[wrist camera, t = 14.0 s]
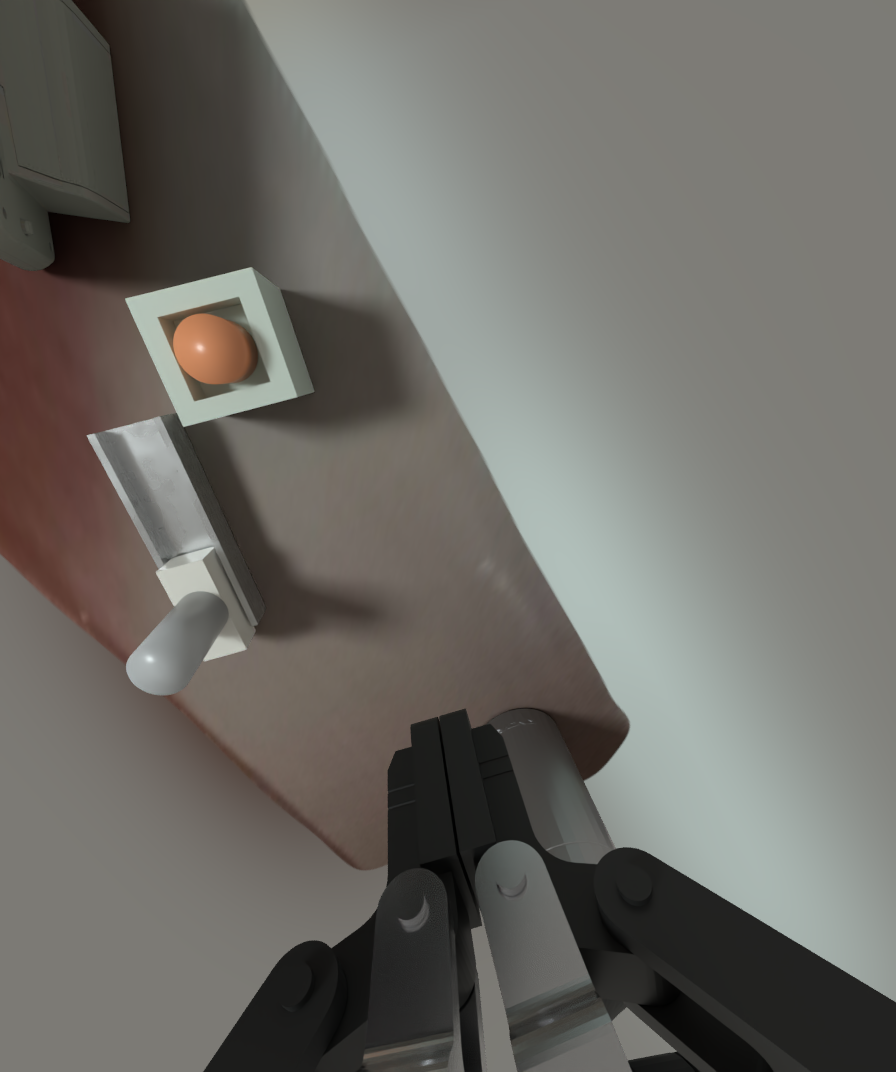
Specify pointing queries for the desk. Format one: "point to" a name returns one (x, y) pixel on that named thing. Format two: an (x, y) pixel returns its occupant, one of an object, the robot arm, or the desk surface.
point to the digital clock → (54, 127)
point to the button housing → (245, 304)
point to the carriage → (191, 624)
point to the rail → (172, 498)
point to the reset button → (214, 349)
